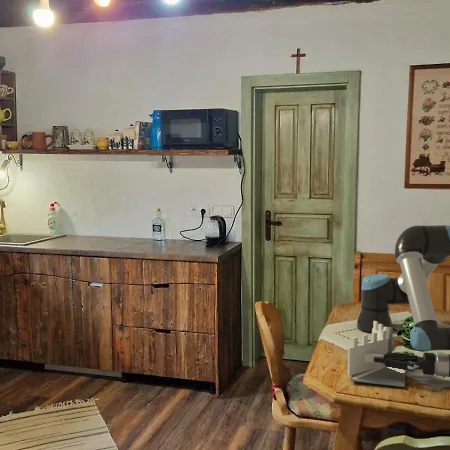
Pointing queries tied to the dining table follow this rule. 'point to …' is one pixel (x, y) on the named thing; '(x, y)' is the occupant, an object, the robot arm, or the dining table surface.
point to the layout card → (380, 377)
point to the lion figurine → (397, 342)
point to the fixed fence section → (389, 333)
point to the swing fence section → (358, 351)
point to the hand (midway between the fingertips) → (364, 357)
